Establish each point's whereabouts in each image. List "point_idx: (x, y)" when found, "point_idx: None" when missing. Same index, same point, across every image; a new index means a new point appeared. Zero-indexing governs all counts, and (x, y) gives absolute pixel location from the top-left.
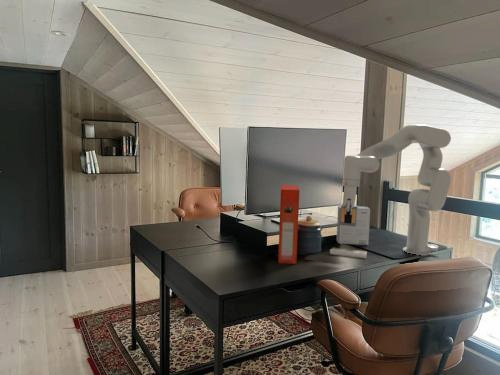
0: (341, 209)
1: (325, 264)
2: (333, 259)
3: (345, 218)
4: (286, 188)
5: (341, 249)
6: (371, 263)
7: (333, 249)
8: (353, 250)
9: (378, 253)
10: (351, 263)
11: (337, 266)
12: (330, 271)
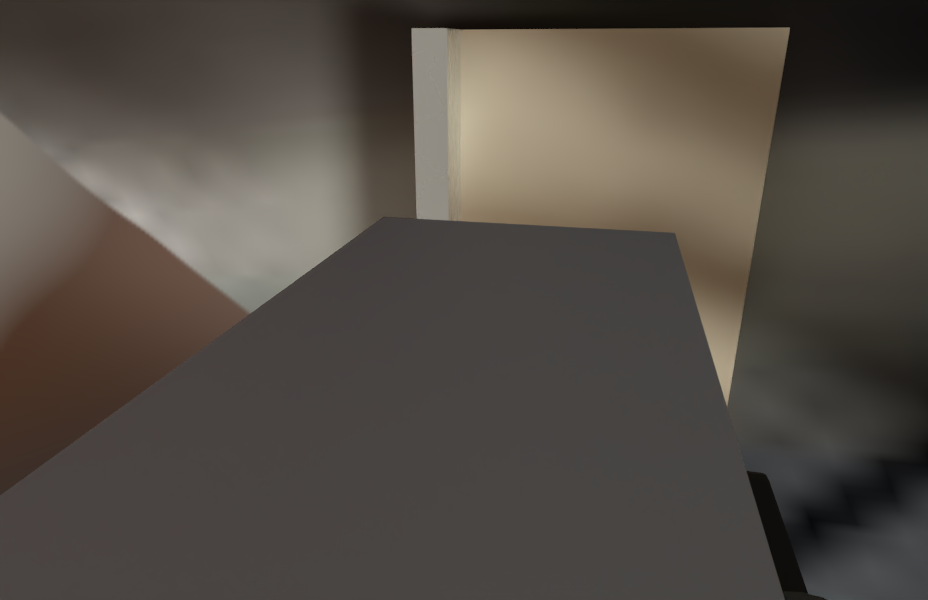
0: (89, 462)
1: (167, 24)
2: (375, 87)
3: None
4: None
5: (718, 160)
6: None
7: (679, 50)
8: (719, 310)
9: (812, 547)
10: None
11: (174, 150)
12: (14, 101)
